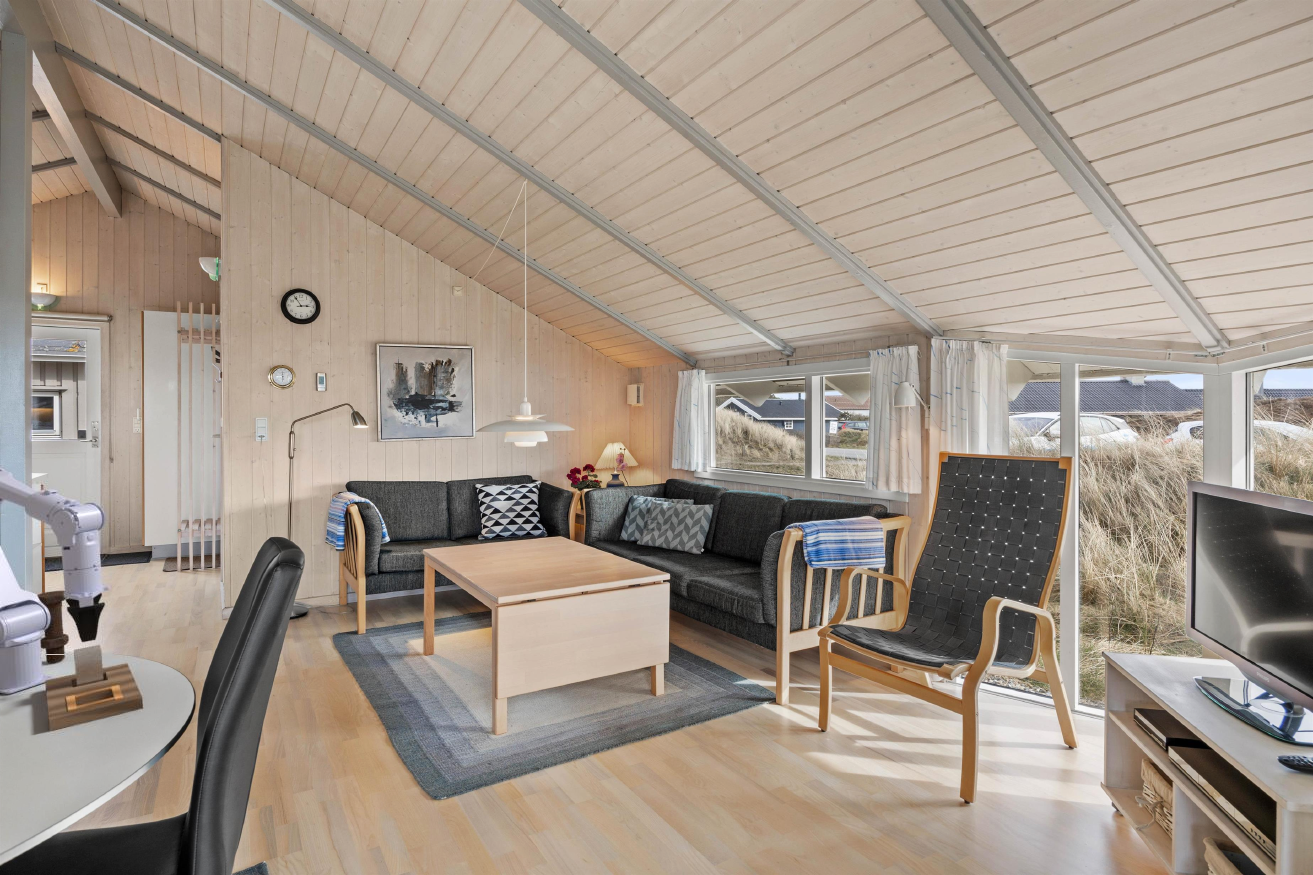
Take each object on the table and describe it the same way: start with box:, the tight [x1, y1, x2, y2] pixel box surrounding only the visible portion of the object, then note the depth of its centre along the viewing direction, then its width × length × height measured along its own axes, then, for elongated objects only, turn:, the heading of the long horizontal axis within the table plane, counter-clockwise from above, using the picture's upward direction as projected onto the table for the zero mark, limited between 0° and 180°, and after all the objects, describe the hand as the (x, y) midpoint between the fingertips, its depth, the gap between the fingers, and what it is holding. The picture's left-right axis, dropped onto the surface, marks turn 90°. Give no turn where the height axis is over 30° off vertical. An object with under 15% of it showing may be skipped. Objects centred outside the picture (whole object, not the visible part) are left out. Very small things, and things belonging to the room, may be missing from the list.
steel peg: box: [73, 644, 104, 687], centre depth 140 cm, size 4×4×8 cm
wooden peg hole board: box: [44, 662, 144, 732], centre depth 136 cm, size 24×13×2 cm, turn 42°
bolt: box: [37, 590, 70, 664], centre depth 157 cm, size 6×5×15 cm
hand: (87, 636), depth 140 cm, fingers open, 7 cm apart
